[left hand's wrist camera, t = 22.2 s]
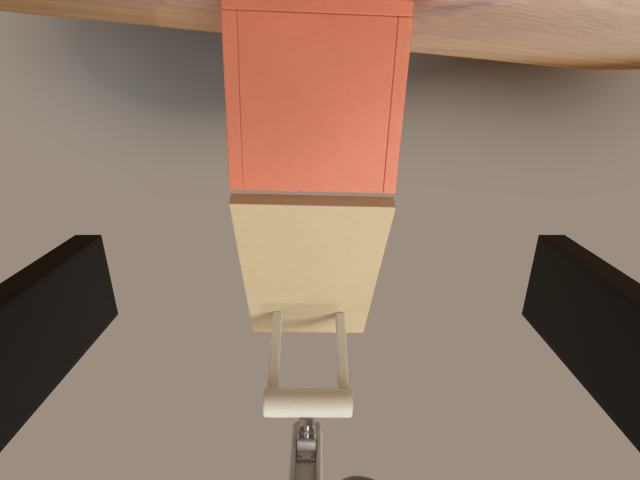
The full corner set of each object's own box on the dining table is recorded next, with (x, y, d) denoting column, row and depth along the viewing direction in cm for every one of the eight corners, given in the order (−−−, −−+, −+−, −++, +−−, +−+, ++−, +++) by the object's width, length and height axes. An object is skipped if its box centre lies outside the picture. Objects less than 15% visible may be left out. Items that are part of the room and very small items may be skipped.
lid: (362, 323, 34) (371, 430, 29) (253, 322, 34) (242, 429, 29) (393, 196, 23) (418, 333, 18) (230, 193, 23) (204, 330, 17)
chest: (371, 34, 32) (363, 154, 36) (256, 30, 32) (258, 151, 35) (415, -1, 19) (395, 193, 23) (219, -9, 19) (229, 190, 22)
